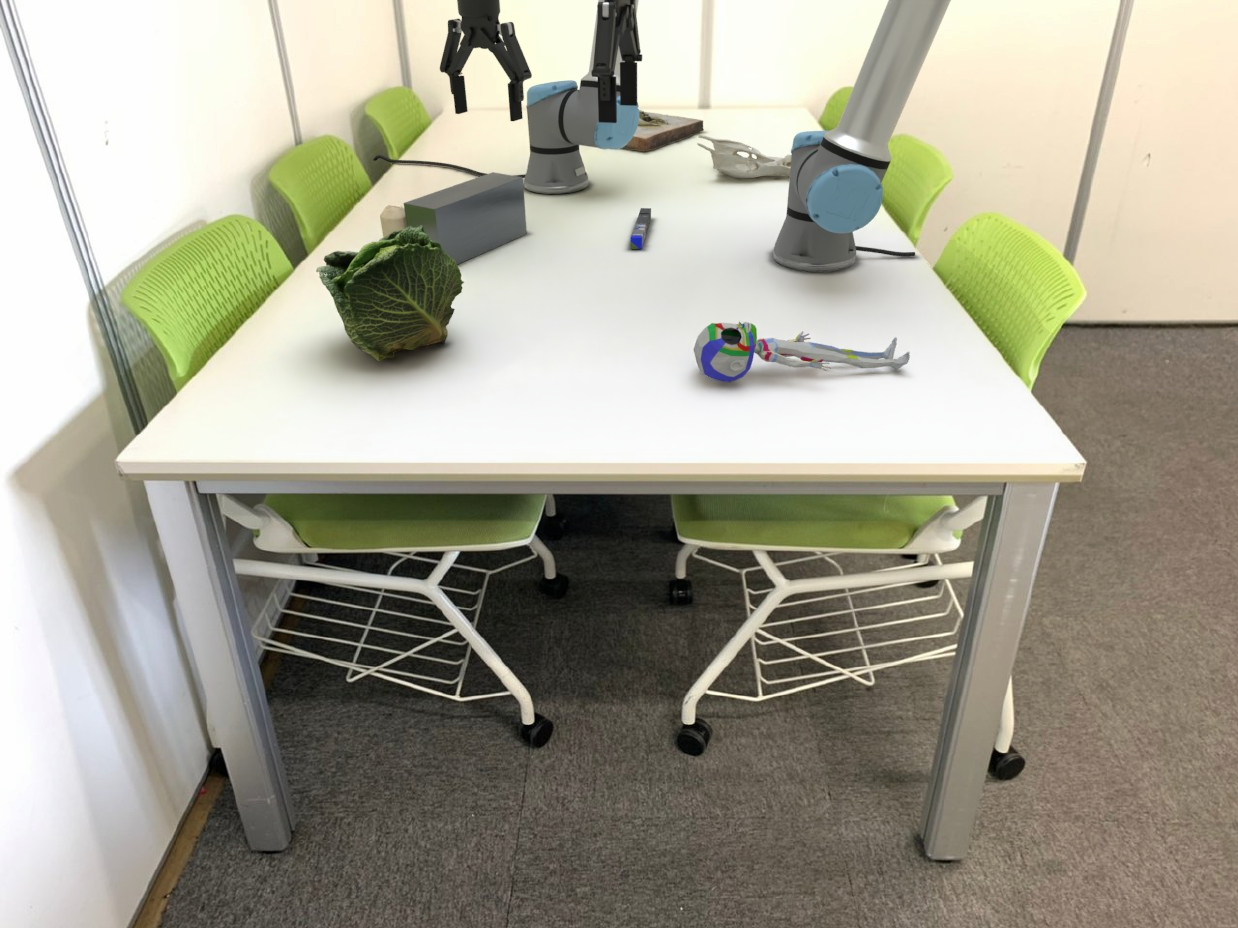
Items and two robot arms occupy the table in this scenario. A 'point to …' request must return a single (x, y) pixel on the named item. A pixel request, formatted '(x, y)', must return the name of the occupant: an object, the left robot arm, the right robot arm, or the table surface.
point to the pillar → (640, 228)
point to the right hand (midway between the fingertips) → (618, 113)
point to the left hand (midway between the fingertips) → (488, 116)
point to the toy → (775, 352)
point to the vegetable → (394, 292)
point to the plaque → (661, 130)
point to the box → (472, 215)
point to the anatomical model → (744, 160)
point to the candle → (392, 219)
